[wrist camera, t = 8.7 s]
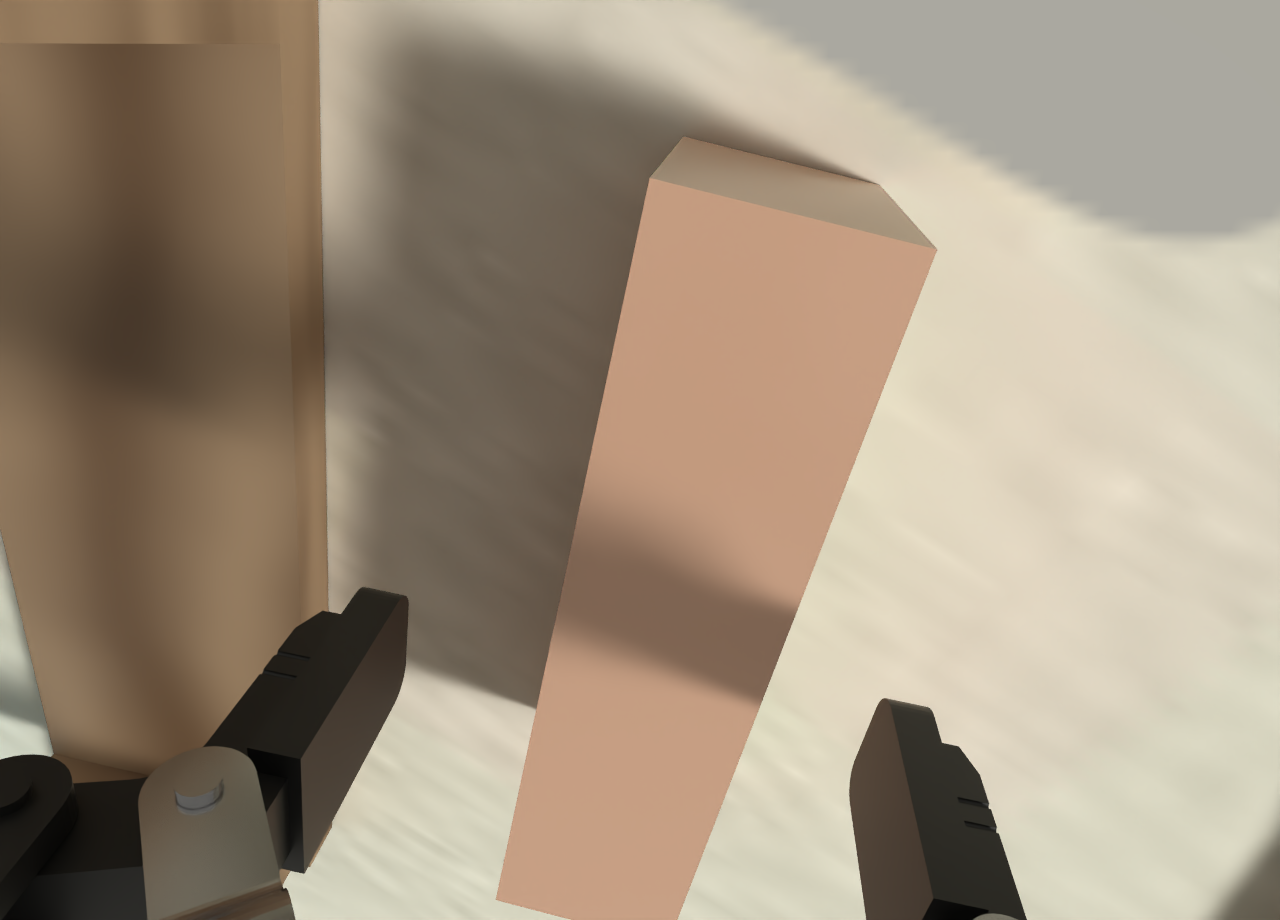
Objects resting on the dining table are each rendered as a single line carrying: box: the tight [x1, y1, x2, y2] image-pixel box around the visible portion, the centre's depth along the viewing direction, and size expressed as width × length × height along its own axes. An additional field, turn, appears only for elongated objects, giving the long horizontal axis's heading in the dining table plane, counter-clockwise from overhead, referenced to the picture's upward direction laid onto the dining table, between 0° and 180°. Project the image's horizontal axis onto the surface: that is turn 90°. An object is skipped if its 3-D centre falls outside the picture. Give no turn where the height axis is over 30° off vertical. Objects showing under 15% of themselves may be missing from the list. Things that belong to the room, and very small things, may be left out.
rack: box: [0, 0, 332, 885], centre depth 17 cm, size 8×26×8 cm, turn 171°
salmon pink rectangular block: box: [496, 136, 937, 920], centre depth 17 cm, size 4×16×6 cm, turn 168°
